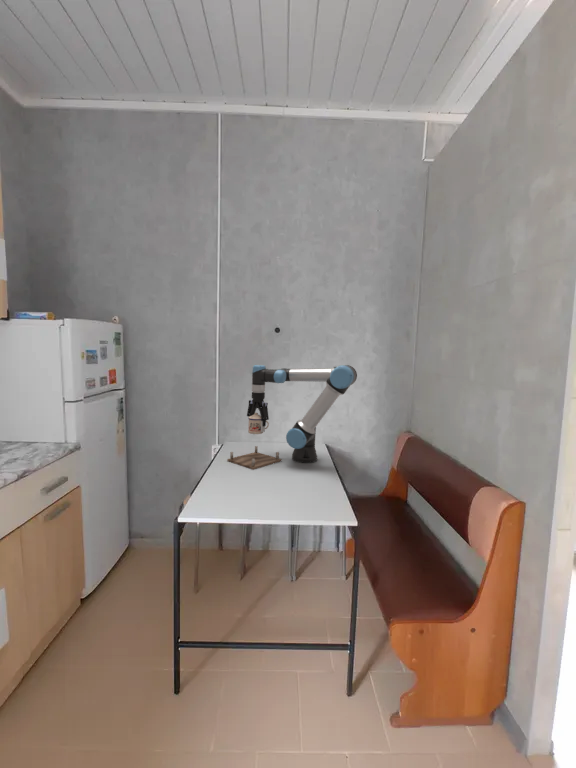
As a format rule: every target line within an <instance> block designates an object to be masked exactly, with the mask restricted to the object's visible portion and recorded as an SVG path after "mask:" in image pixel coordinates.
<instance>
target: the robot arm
mask: <svg viewBox="0 0 576 768" xmlns="http://www.w3.org/2000/svg"><path fill="white" fill-rule="evenodd" d="M251 377H252V380H251V381H252V382H251V391H252V392H251V399H250V400H248V408H247V413H246V417H248V418H249V417H250V416H252V415H254V414H255V413H256V410H258V411H259V415H260V416H261V418H262V420H261V432H263V433H265V431H266V429H265V428H266V427H267V426H266V425H267V422H266V421H268V420H269V419H270V418H269V411H268V402H265V401H264V400H265V397H266V392H265V391H266V383H273V384H274V383H275V384H284V383H285V382H312V383H313V382H322V383H324V382H325V383H326V386H325V387H324V388H323V390H322V391H321V393H320V394H319V396H318V397H317V398H316V400H315V401H314V402H313V404H312V405H311V407H309V409H308V411H307V412H306V413H305V415H304V416H303V417H302V418H301V419H298V420H297V421H296V423H294V425H293V426H292V428H290V429H289V430H288V431H287V432H286V437H285V438H286V439H285V440H286V443H287V445H288V446H290V448H292V449H293V452H292V453H291V459H292V461H294V462H298V463H305V464H308V463H314V462H317V461H318V454H317V450H316V432H317V431H316V430H317V426H318V425H319V423H320V422H321V421H322V419H323V418H324V417H325V415H326V414H327V413H328V411H329V410H330V409H331V408H332V406H333V405H334V403H335V402H336V401H337V399H338V398H339V396H343V395H344V394H345V393H346V392H347V391H348V389H349V388H350V386H352V385H353V384H354V383H356V381H357V378H358V372H357V370H356V369H355V368H354V367H353V366H352V365H348V364H345V365H338V366H333V367H332V368H277V369H269V368H267V367H266V365H264V364H255V365H253V366H252V372H251Z"/></svg>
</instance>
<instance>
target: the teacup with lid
mask: <svg viewBox="0 0 576 768" xmlns="http://www.w3.org/2000/svg"><path fill="white" fill-rule="evenodd" d="M247 419H248V434H250V435H251V434H252V435H262V434H263V433H264V432H261V420H262V418H261V415H260V414H259V413H258V412H255V414H254V415H252V416H250V417H248V418H247ZM269 424H270V423H269V422H268V420H266V425H267V426H265V430H267V429H268V428H269V426H270V425H269Z"/></svg>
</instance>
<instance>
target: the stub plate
mask: <svg viewBox="0 0 576 768" xmlns="http://www.w3.org/2000/svg"><path fill="white" fill-rule="evenodd" d="M275 453H276V455H275V457H274V456H271V455H267V454H265V453H260V452H258V446H254V451H253V452H251V453H245V454H241V455H239V456H235V457H234V452H233V451H230V456H229V457H230V458H227V460H226V461H227V462H229V463H232V464H235V465H238V466H240V467H244V468H246V469H250V470H252V471H253V470H257V469H260V468H263V467H267V466H271V465H274V464H276V463H277V464H278V463H280V461H281V462H282V461H283V460H282V459H281V458H280V452H279V451H277V452H275ZM273 463H274V464H273Z"/></svg>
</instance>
